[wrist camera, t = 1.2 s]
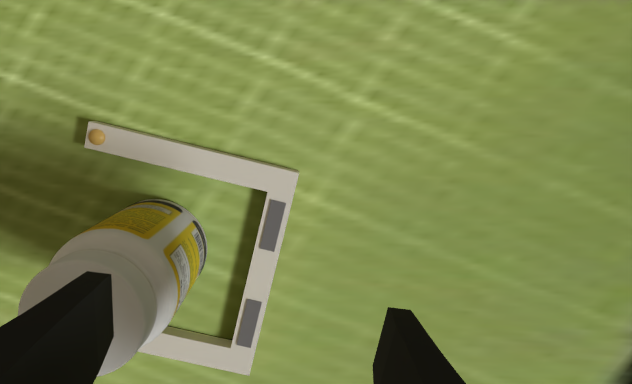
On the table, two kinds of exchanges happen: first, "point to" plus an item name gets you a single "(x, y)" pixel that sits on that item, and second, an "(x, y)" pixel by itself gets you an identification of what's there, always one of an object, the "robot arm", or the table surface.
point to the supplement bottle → (131, 270)
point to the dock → (267, 245)
